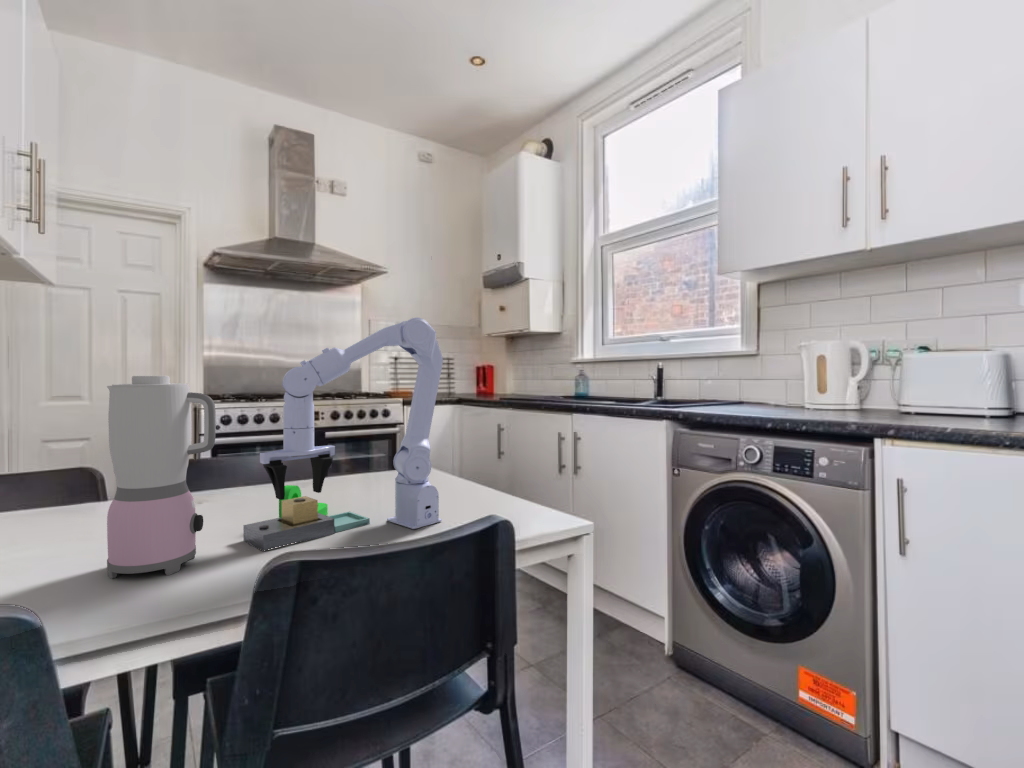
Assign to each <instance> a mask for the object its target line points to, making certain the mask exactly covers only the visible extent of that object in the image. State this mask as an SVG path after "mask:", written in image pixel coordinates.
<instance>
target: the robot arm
mask: <svg viewBox="0 0 1024 768" xmlns="http://www.w3.org/2000/svg"><path fill="white" fill-rule="evenodd" d="M397 346H398V347H400V348H401V349H403V350H404V351H405V352H407V353H408V354H410V355H411V357H412V358H413V359H414V361H415V362H416V363H417V365H418V367H417V371H416V378H415V383H414V388H413V393H412V399H411V403H410V409H409V414H408V420H407V425H406V429H405V430H406V431H405V435H404V436H403V438H402V440H401V442H400V446H399V449H398V451H397V452H396V453H395V455H394V457H393V460H392V461H393V467H394V469H395V470H396V473H397V475H396V477H395V478H394V479H395V481H394V488H395V491H394V494H395V495H394V497H395V498H394V499H395V500H394V507H395V509H394V515H395V516H391V517H387V518H386V521H387V522H390V523H394V524H396V525H399V526H402V527H405V528H409V529H412V530H415V529H419V528H423V527H425V526H430V525H433V524H436V523H441V522H442V518H440V517H439V512H440V511H439V510H440V509H439V503H440V502H439V498H440V497H439V491H438V489H437V487H436V486H434V485H433V484H431V483H430V480H429V479H430V477H429V476H430V474H431V471H432V461H431V458H430V456H431V455H430V454H431V446H430V440H429V439H430V438H429V437H430V434H431V433H430V432H431V426H432V423H433V416H434V411H435V405H436V401H437V394H438V391H439V385H440V380H441V375H442V374H441V373H442V368H443V363H444V361H443V360H444V358H443V355H442V352H441V348H440V346H439V343H438V341H437V332H436V330H435V329H434V328H433V326H431V325H430V323H429V322H428V321H427V320H426V319H424V318H421V317H412V318H410V319H408V320H403V321H401V322H399V323H395V324H392V325H390V326H386V327H383V328H380V329H379V330H377V331H376V332H374V333H371V334H369V335H368V336H366V337H365V338H364V337H363V338H362V339H361V340H359V341H357V342H356V343H354V344H352V345H349V346H348V347H346V348H344V349H341V348H338V347H332V348H329V347H326V348H323V349H322V350H321V353H320V354H319V355H317V356H315V357H312V358H310V359H308V360H307V361H306V360H305V359H304V360H301V361H300V362H299V363H300V365H301V366H294V367H293V368H291V369H289V370H288V371H287V372H286V373H285V374H284V376H283V378H282V381H281V384H282V388H283V389H284V391H285V392H284V394H283V402H284V404H283V407H282V408H283V409H282V411H283V412H282V414H283V415H282V417H283V418H282V419H283V420H282V421H283V423H282V424H283V426H282V427H283V429H282V430H283V435H282V436H283V444H282V445H283V449H282V448H281V449H277V450H271V451H266V452H260V453H259V463H260V464H262V465H263V468H264V470H265V471H266V474H267V475H268V477H269V479H270V481H271V483H272V486H273V489H274V494H275V499H278V500H279V499H280V500H282V499H284V496H285V486H286V485H285V481H286V473H287V468H288V466H287V465H286V464H284V463H283V462H285V461H293V460H303V459H304V460H305V459H309V460H310V464H311V465H310V466H311V470H312V491H313V492H315V493H318V494H321V493H322V489H323V485H324V481H325V478H326V476H327V473H328V471H329V469H330V467H331V466H332V464H333V462H334V458H333V457H332V456H335V455H336V446H335V445H331V444H330V445H319V446H318V445H316V446H315V404H314V393H313V392H314V391H315V389H316V387H317V386H318V387H322V386H324V385H326V384H328V383H330V382H332V381H334V380H336V379H338V378H340V377H341V376H343V375H345V374H347V373H348V372H349V371H350V368H351V365H352V363H354V362H355V361H358V360H360V359H362V358H364V357H365V356H368V355H370V354H372V353H374V352H376V351H378V350H380V349H382V348H384V347H397Z"/></svg>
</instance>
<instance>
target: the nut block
mask: <svg viewBox="0 0 1024 768" xmlns="http://www.w3.org/2000/svg"><path fill="white" fill-rule="evenodd" d="M281 502H282V523H284V524H286V525H288V526H291V527H292V526H297V525H301V524H306V523H310V522H314V521H318V503H319V501H318V499H315V498H312V497H309V496H307V495H305V496H301V497H298V498H293V499H287V500H282V501H281Z"/></svg>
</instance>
